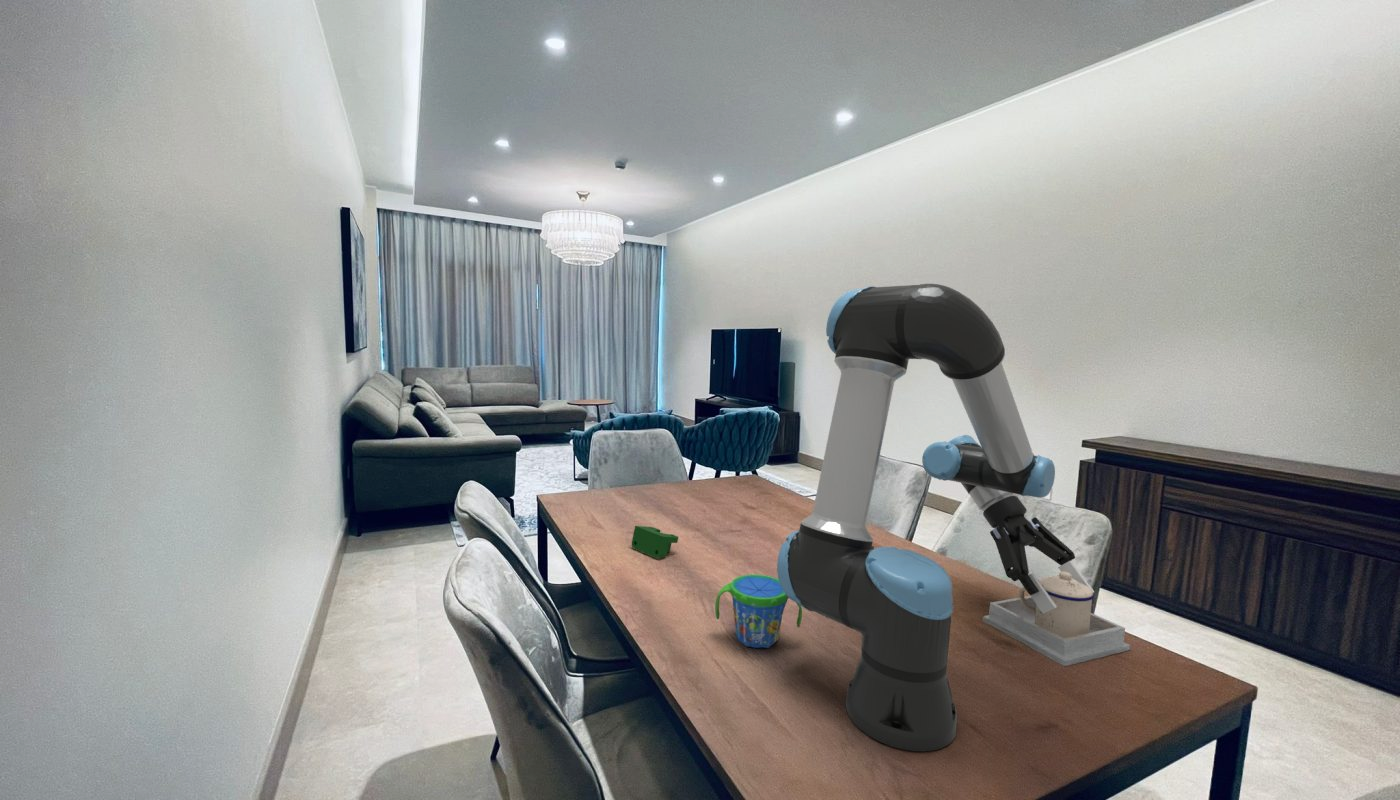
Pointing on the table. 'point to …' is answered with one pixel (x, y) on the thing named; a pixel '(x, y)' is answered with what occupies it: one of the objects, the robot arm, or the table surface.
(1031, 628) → the rectangular tray
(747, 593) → the snack cup
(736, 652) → the table surface
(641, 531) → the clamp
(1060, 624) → the teacup with lid
